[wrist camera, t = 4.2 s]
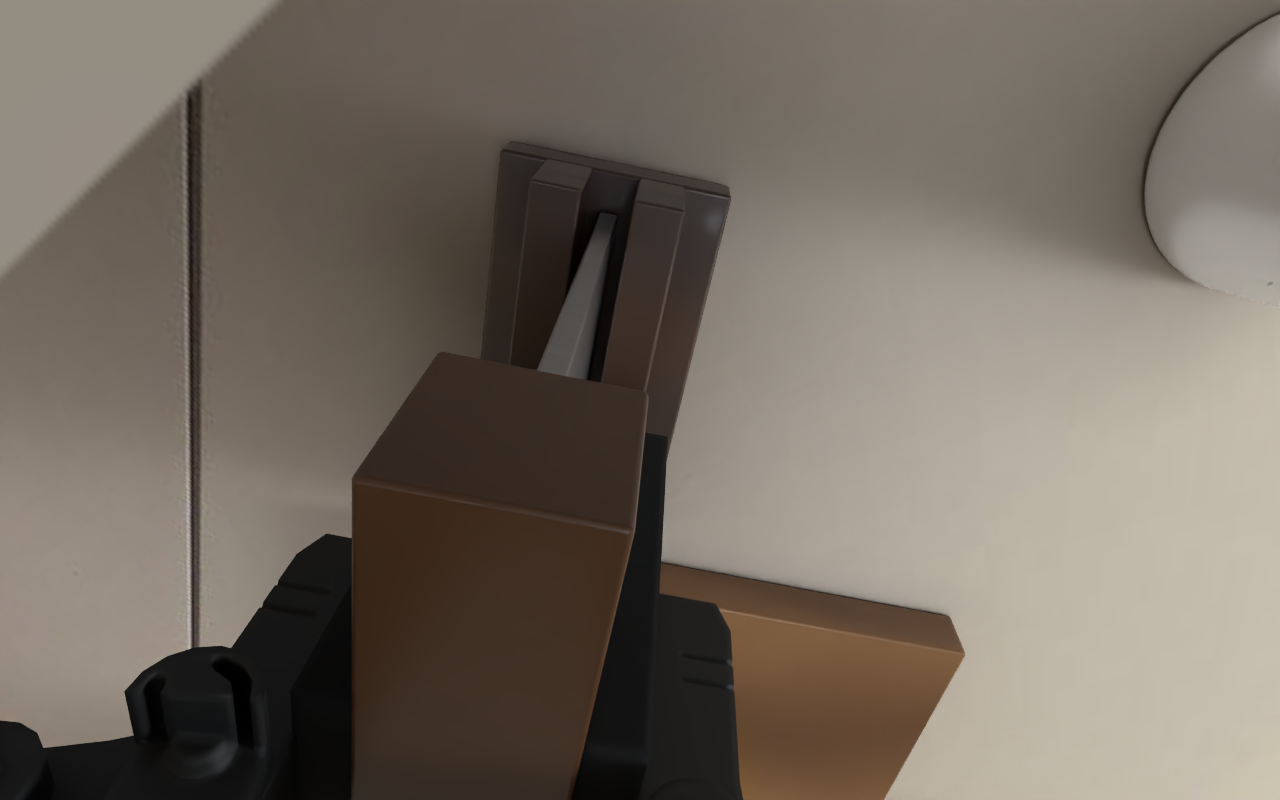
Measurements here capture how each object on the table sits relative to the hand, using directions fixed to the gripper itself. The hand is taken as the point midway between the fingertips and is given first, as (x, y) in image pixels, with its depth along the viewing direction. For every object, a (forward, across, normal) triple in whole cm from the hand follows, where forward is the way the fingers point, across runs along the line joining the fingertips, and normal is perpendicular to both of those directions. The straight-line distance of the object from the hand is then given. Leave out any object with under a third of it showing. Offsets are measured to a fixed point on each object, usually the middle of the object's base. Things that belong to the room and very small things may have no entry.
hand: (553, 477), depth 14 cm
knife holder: (+6, 0, 0) cm, 6 cm away
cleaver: (+4, 0, 0) cm, 4 cm away
